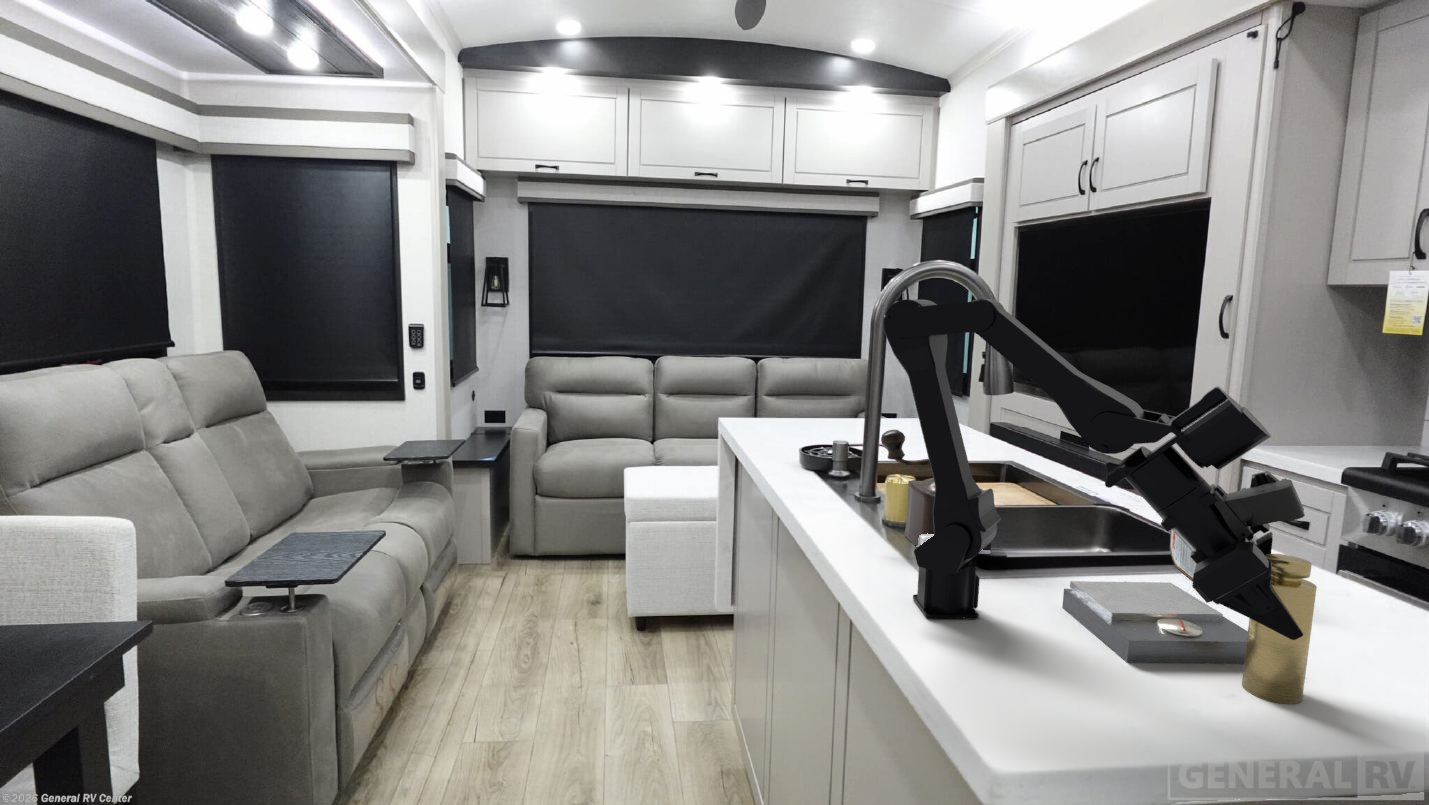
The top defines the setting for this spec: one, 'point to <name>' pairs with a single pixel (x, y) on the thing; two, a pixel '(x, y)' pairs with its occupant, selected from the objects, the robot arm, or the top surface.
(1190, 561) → the tin
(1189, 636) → the scale
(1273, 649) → the weight
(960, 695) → the top surface
